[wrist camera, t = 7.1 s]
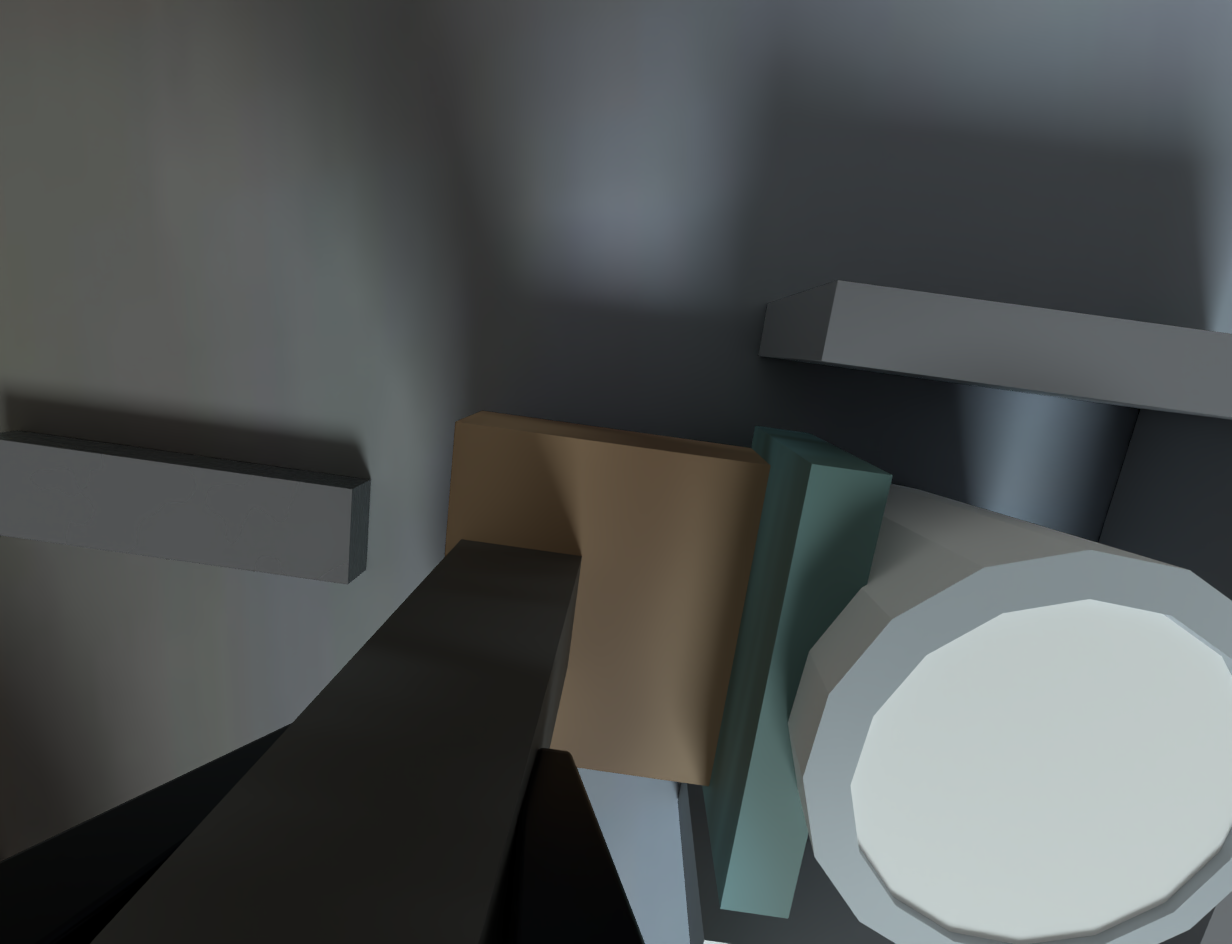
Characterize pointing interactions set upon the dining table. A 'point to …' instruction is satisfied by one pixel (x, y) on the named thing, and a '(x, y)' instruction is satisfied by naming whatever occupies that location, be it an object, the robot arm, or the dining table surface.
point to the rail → (183, 507)
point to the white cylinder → (1018, 736)
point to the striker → (544, 687)
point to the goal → (1031, 363)
